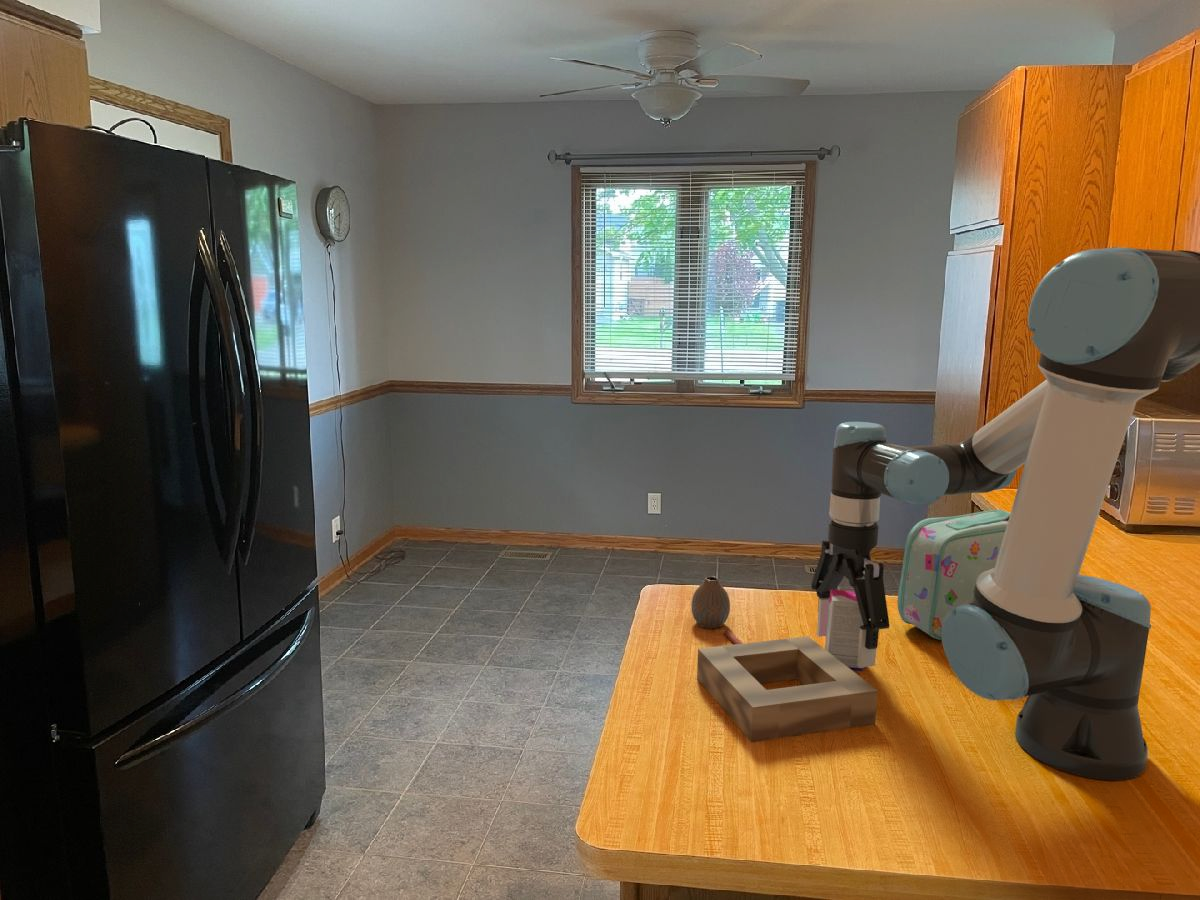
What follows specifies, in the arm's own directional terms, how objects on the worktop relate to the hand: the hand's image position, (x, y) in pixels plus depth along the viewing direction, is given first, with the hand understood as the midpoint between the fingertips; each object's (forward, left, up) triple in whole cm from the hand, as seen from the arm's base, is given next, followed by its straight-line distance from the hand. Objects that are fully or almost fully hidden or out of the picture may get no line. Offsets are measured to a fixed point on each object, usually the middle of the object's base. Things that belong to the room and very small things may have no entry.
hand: (844, 649), depth 135 cm
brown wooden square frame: (-9, +16, -2) cm, 18 cm away
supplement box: (0, 0, -2) cm, 2 cm away
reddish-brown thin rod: (+9, +14, -2) cm, 17 cm away
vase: (+20, +15, -2) cm, 25 cm away
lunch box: (+8, -30, -2) cm, 31 cm away
